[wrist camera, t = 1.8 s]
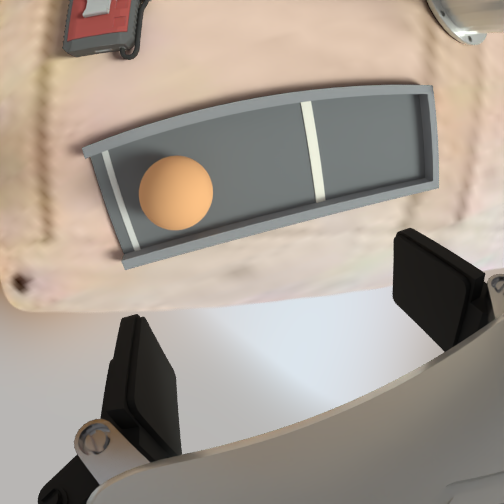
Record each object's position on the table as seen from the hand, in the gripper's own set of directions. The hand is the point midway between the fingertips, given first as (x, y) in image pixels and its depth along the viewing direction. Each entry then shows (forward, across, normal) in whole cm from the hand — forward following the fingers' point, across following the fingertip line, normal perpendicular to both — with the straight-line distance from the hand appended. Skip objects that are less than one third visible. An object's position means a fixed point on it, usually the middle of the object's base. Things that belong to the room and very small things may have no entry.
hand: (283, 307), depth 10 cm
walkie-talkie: (+20, +4, -24) cm, 31 cm away
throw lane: (+19, -7, -1) cm, 21 cm away
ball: (+16, +4, -1) cm, 17 cm away
